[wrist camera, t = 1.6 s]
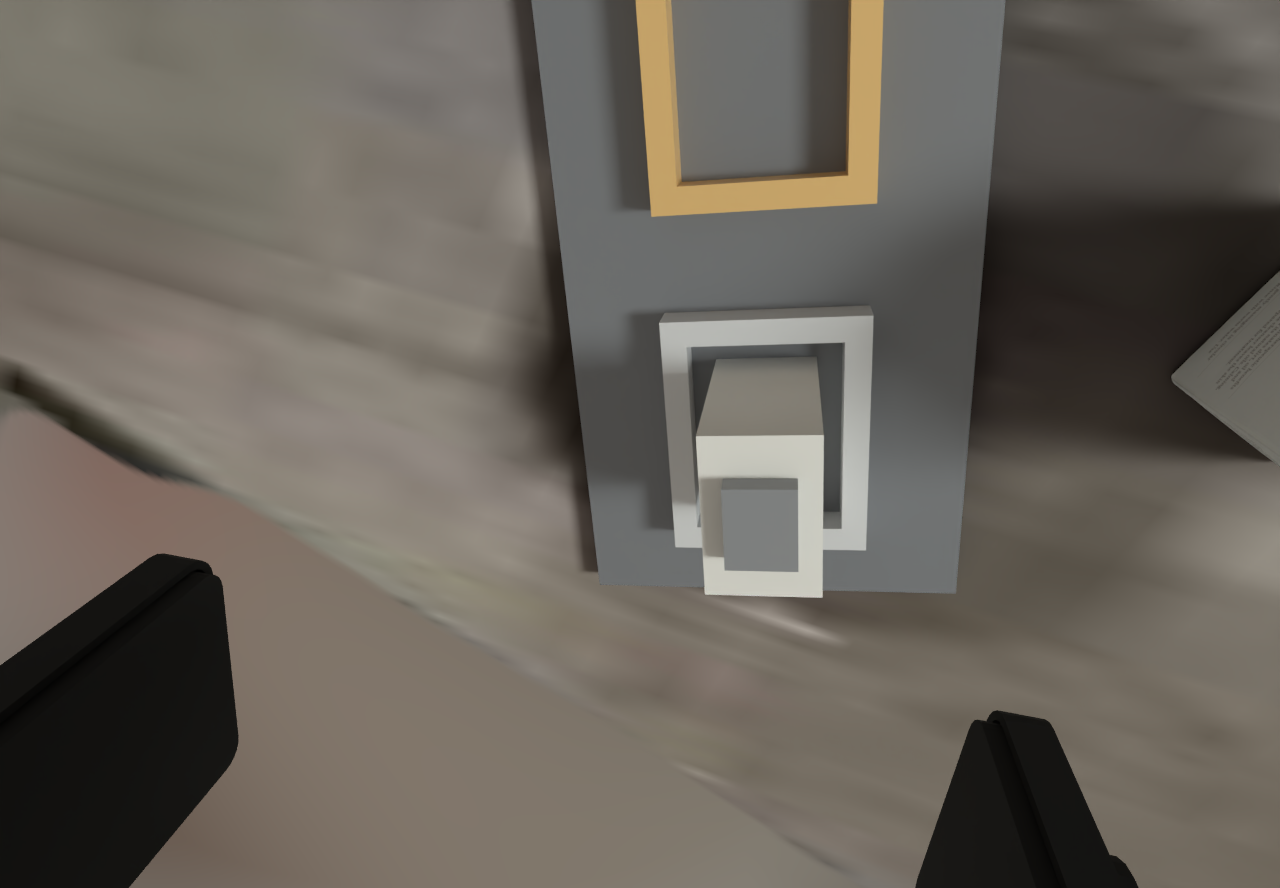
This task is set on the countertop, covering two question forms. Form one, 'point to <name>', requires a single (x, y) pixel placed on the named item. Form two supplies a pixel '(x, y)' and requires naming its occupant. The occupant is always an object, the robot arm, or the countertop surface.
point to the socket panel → (774, 255)
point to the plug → (762, 478)
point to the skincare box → (1242, 372)
